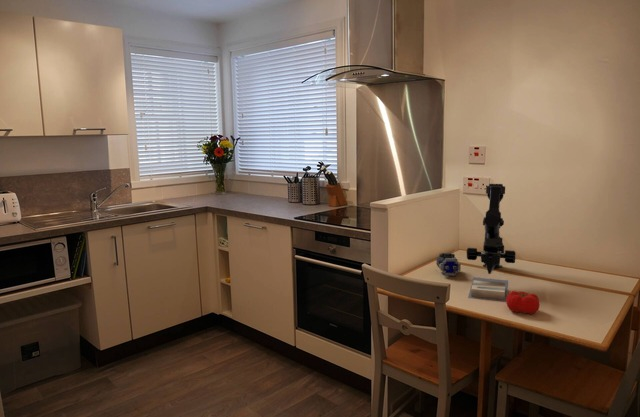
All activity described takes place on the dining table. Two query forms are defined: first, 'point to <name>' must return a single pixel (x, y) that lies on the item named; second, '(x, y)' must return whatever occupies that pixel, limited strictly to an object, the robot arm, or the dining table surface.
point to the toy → (448, 264)
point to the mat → (491, 281)
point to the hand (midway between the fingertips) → (489, 273)
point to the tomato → (522, 302)
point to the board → (488, 289)
